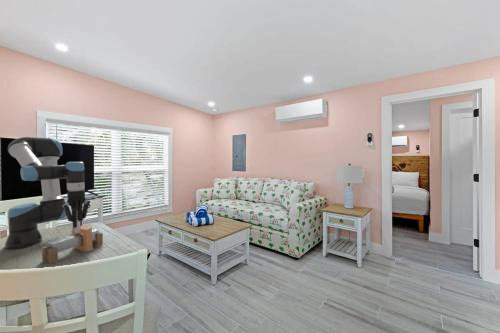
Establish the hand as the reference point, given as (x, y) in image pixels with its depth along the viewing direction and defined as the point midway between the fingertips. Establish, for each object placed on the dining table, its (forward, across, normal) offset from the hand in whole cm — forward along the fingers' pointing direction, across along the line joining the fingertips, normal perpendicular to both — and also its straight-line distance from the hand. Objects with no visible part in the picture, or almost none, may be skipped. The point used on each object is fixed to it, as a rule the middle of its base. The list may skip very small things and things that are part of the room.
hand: (77, 232), depth 117 cm
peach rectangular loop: (+10, +2, 0) cm, 11 cm away
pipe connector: (+11, +10, +16) cm, 21 cm away
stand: (+10, -2, 0) cm, 11 cm away
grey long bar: (+6, -2, 0) cm, 7 cm away
